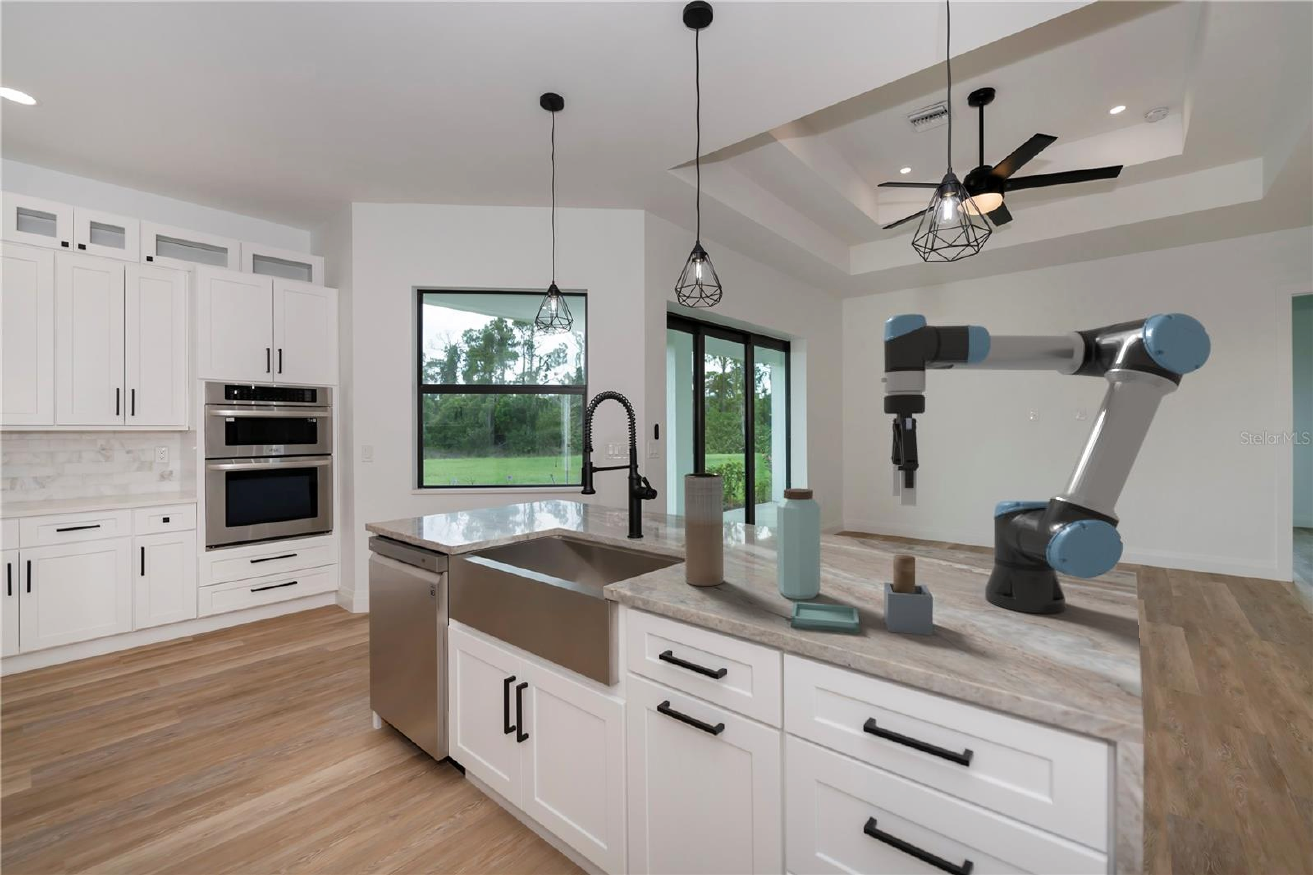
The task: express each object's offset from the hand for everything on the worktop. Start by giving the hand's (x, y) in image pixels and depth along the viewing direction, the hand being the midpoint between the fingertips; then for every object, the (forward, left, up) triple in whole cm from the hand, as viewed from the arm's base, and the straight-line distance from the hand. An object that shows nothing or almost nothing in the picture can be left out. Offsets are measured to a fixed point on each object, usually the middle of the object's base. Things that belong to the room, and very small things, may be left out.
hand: (903, 500), depth 114 cm
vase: (+45, -21, -26) cm, 56 cm away
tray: (+15, +1, -25) cm, 30 cm away
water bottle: (+21, -16, -26) cm, 37 cm away
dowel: (0, 0, -25) cm, 25 cm away
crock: (-1, 0, -25) cm, 25 cm away
